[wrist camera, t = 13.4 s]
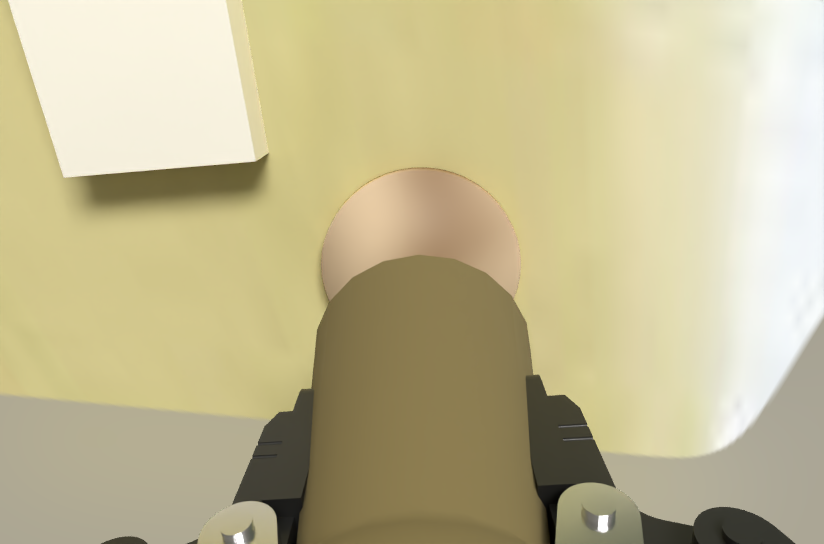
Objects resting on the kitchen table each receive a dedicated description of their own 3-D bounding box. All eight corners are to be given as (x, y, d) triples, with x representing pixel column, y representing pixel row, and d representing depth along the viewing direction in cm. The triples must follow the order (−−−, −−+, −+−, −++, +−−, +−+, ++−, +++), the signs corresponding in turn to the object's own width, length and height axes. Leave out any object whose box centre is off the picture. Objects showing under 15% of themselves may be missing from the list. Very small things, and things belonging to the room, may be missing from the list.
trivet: (337, 355, 25) (335, 362, 24) (310, 175, 22) (307, 178, 21) (519, 344, 24) (521, 351, 24) (517, 159, 21) (519, 162, 21)
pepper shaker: (490, 463, 17) (596, 1088, 7) (295, 417, 16) (88, 1017, 6) (563, 288, 15) (879, 809, 5) (341, 228, 14) (140, 667, 4)
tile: (63, 177, 20) (-30, -119, 17) (95, 166, 22) (18, -101, 19) (256, 161, 20) (198, -144, 16) (271, 151, 22) (222, -123, 18)
